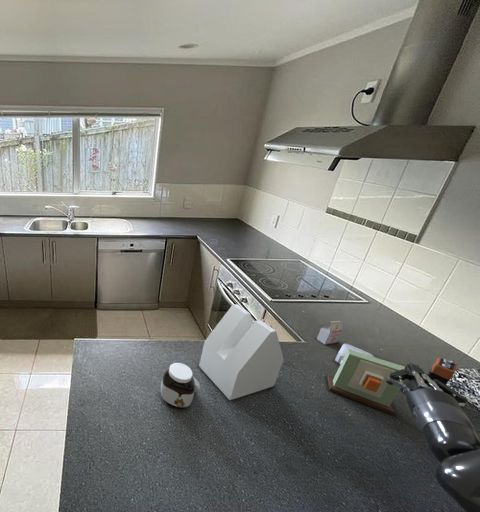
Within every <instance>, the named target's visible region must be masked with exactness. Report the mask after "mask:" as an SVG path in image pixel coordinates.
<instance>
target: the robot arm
mask: <svg viewBox="0 0 480 512" xmlns="http://www.w3.org/2000/svg"><path fill="white" fill-rule="evenodd" d="M404 367H405V369H402V370H399V371H396V372H393V373H391V374H390V375H389V377H388V379H387V380H386V382H387V383H388V384H390V385H394V384H395V385H397V386H398V387H400V392H401V393H402V394H404V395H405V398H406V403H407V405H408V407H409V409H410V412H411V414H412V416H413V418H414V421H415V422H416V425H417V427H418V429H419V430H420V432H421V433H422V434H423V437H424V439H425V441H426V442H427V445H428V447H429V449H430V451H431V453H432V455H433V456H434V457H435V459H436V460H437V461H438V462H439V464H438V466H437V467H436V471H435V477H436V481H437V483H438V484H439V486H440V487H441V488H442V490H443V491H444V492H445V493H446V494H447V495H448V496H449V497H450V498H451V499H452V500H453V501H455V502H456V503H457V504H458V505H459V506H460V508H462V510H464V512H480V437H479V435H478V433H477V430H476V428H475V425H474V424H473V423H472V421H471V420H470V419H469V417H468V416H467V414H466V412H465V411H464V409H463V408H464V407H465V406H466V404H467V403H468V401H469V399H468V398H467V397H465V396H463V395H462V394H460V393H459V392H458V391H456V390H455V389H453V388H451V387H450V386H448V385H447V384H446V385H445V384H443V383H442V382H440V381H439V380H437V379H433V380H432V379H430V378H429V376H427V374H426V373H425V371H424V370H423V368H421V367H420V366H419V365H417V364H415V363H412V362H410V363H407V364H406V365H405V366H404ZM405 379H406V380H407V381H406V380H405ZM404 380H405V382H404V383H403V382H402V381H404ZM439 386H440V387H441V388H443V390H442V389H440V388H439Z"/></svg>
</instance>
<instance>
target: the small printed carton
mask: <svg viewBox="0 0 480 512" xmlns="http://www.w3.org/2000/svg"><path fill="white" fill-rule="evenodd" d="M342 334H343V320H335V321H334V320H333V321H328V322H327V323H326V324H324V325H323V326H321V328H320V330H319V332H318V335H317V337H316V340H317V341H319V342H320V343H322V344H323V345H325V346H326V345H333V344H337V343H338V342H339V340H340V338H341V336H342Z"/></svg>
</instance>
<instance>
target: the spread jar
mask: <svg viewBox="0 0 480 512" xmlns="http://www.w3.org/2000/svg"><path fill="white" fill-rule="evenodd" d="M160 382H161V383H160V396H161V398H162V400H163V401H164V402H165V403H166V404H168V405H169V406H170V407H172V408H176V409H186V408H188V407H189V406H191V404H192V403H193V400H194V396H195V393H198V392H200V390H201V384H200V383H199V381H198V379H196V378H195V377H194V376H193V371H192V369H191V368H190V367H189V366H188V365H186V364H184V363H182V362H174V363H171V364H170V366H169V368H168V369H167V370H165V371H164V373H163V375H162V378H161V381H160Z"/></svg>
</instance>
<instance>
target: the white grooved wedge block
mask: <svg viewBox="0 0 480 512" xmlns="http://www.w3.org/2000/svg"><path fill="white" fill-rule="evenodd" d="M226 311H227V312H225V314H224V315H223V317H222V318H221V319H220V320H219V322H218V323H217V324H216V326H215V327H214V328H213V330H212V331H211V332H210V333H209V335H208V336H207V337H206V338H205V340H204V342H203V346H202V351H201V354H200V355H201V356H200V359H199V362H198V367H199V368H200V369H201V370H202V371H203V373H204V374H205V375H206V376H207V377H208V378H209V379H210V380H211V381H212V382H213V384H215V386H216V387H217V388H218V389H219V390H220V391H221V392H222V393H223V395H224V396H225V397H226V398H227V399H228V400H229V401H233V400H235V399H239V398H241V397H244V396H247V395H248V396H249V395H250V394H254V393H257V392H261V391H264V390H267V389H269V388H273V387H275V384H276V382H277V379H278V376H279V375H280V371H281V369H282V366H283V363H284V361H285V359H284V355H283V351H282V348H281V343H280V340H279V337H278V333H277V330H275V329H274V328H272V327H271V326H270V325H269V324H267V323H265V322H264V321H262V320H261V319H256V320H255V321H254V319H253V318H252V314H251V313H250V312H249V311H248V310H247V309H245V308H243V307H242V306H240V305H239V304H237V303H236V304H232V305H231V306H230V308H229V309H228V310H226Z"/></svg>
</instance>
